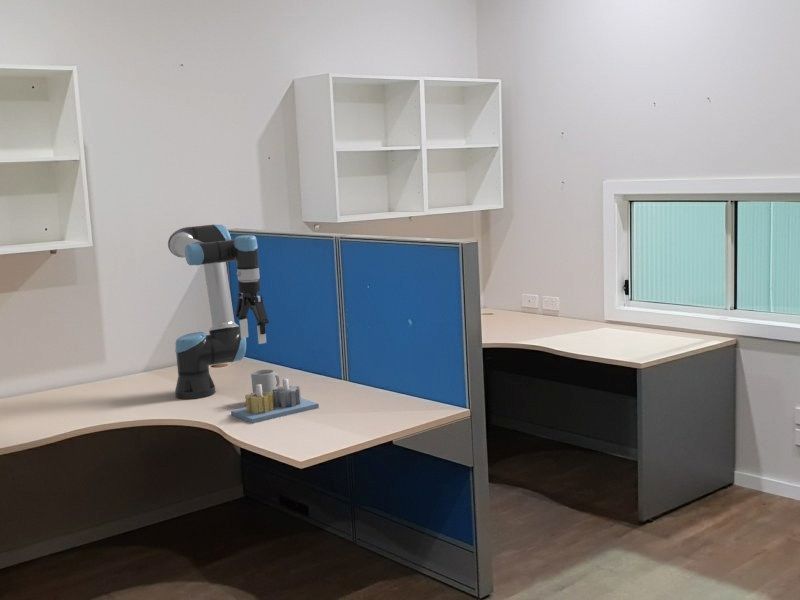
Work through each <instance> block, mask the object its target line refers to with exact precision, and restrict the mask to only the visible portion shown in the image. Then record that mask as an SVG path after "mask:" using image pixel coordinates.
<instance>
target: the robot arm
mask: <svg viewBox="0 0 800 600" xmlns="http://www.w3.org/2000/svg"><path fill="white" fill-rule="evenodd" d="M167 246H168V250H169V252H170V253H171V254H173V255H174V256H175V257H177V258H185V261H186V263H187V264H188V266H201V265H203V269H204V276H205V277H204V278H205V281H206V290H207V291H206V292H207V298H208V303H209V305H208V306H209V311H210V318H211V324H212V325H211V327H210V329H208V331H209V333H208V334H207V333H206V332H205V331H197V332H191V333H187V334H184V335H182V336H179V337H178V338H177V339H176V340H175V350H174V351H175V354H176V365H177V366H176V367H177V375H178V376H177V381H176V385H175V390H174V393H175V394H174V395H175V398H176V399H183V400H190V399H191V400H192V399H201V398H205V397H209V396H212V395H214V394H215V393H216V385H215V383H214V380H213V379H212V376H211V374H210V368H209V367H210V366H212V365H213V366H214V365H221V364H227V363H234V362H238V361H241V360H243V359H244V357H245V356H246V351H247V338H249V325H248V316H247V315H248V313H249V309H250V310H251V311H252V312H253V316H254V317H255V320H256V327H257V328H256V330H257V343H258V345H261V344H262V345H263V344H267V333H266V332H267V331H266V325H268V323H270V322H269V318H268V315H267V312H266V308H265V304H264V302H263V301H264V299H263V296H262V295H258V292H260V291H261V282H260V277H261V276H260V267H259V265H260V264H259V254H258V253H259V251H258V249H259V247H258V240H257V237H256V235H251V234H249V235H247V234H246V235H238V236H236V237H235V238H232V237H231V234H230V232H229V230H228V228H227V227H226V226H225V225H223V224H207V225H198V226H195V225H194V226H186V227H182V228H179V229H177V230H175V231H174V232H173V233H171V234H170V236H169V238H168V242H167ZM229 262H236V271H237V272H236V275H237V280H238V282H237V287H238V293H237V297H238V298H237V305H236V310H235V316H234V308H233V303H232V295H231V290H230V283H229V275H228V267H227V263H229ZM234 317H236V318H237V319H238V320H239V325H238V324H237V323H236V322H235V318H234Z"/></svg>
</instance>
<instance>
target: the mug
mask: <svg viewBox="0 0 800 600" xmlns="http://www.w3.org/2000/svg"><path fill="white" fill-rule="evenodd" d="M250 377H251V388H252V393H253V392H255V393H256V385H258V384H261V385H262V391H265V392H272V393H273V391H272V390H273V389H277V388H278V387H281V382H280V381H281V380H280V379H281V378H280V376H279V374H278V373H276V372H275V370H273V369H260V370H254V371H252V372H251V374H250Z"/></svg>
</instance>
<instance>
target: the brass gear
mask: <svg viewBox="0 0 800 600" xmlns="http://www.w3.org/2000/svg"><path fill="white" fill-rule="evenodd" d="M262 395H263V396H257V394H256V393H255V392H253V391H252V392H250V394H245V407H246V410H247V413H254V414H259V413H268V412H269V411H273V410H274V398H273V393H272V392H265V391H262Z"/></svg>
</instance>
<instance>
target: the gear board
mask: <svg viewBox="0 0 800 600" xmlns="http://www.w3.org/2000/svg"><path fill="white" fill-rule="evenodd" d="M289 384H290V383H289V378H283V379H282V386H280V387H278V388H277V389H273V390H272V391H273V398H274V410H273V411H269V412H268V413H259V414H254V413H247V410H246V406H245V407H240V408H237V409H231V410H230V415H231V416H232V417H236V418H239V419H241V420H244V421H245V422H248V423H251V424H255V423H260V422H265V421H269V420H273V419H277V417H278V418H281V416H282V417H285V416H290V415H293V414H297V413H302V412H307V411H311V410H315V409H320V406H319V402H315V401H311V400H309V399H306V398H303V397H301V388H300V386H298V385H297V386H292V385H289ZM256 394H257V396H263V395H262V385H261V384H258V385H256ZM272 418H273V419H272Z"/></svg>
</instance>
